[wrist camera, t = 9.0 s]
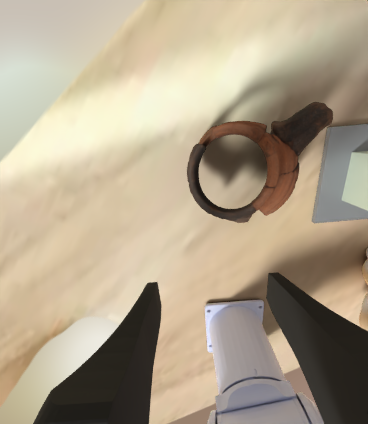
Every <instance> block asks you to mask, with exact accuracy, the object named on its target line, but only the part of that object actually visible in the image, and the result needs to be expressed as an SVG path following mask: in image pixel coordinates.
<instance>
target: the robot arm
mask: <svg viewBox="0 0 368 424" xmlns="http://www.w3.org/2000/svg"><path fill="white" fill-rule="evenodd" d="M266 298H267V301H268V303H269V306H270V308H271V311H272V313H273V315H274V317H275V319H276V321H277V323H278V324H279V326H280V328H281V330H282V332H283V334H284V335H285V337H286V339H287V341H288V343H289V345H290V346H291V348H292V350H293V352H294V354H295V356H296V358H297V360H298V362H299V365H300V367H301V369H302V371H303V374H304V376H305V378H306V380H307V383H308V385H309V388H310V390H311V392H312V395H313V397H314V400H315V402H316V405H317V407H318V409H317V407H316V406H315V404H314V403H313V401H312V400H311V399H309V398H308V397H306V396H305V395H304V394H303V393H302V392H299V393H296V395H295V393H294V390H293V388H292V386H291V383H290V381H288V380H287V381H286V379H285V377H284V374H283V372H282V370H281V367H280V365H279V363H278V360H277V358H276V356H275V353H274V351H273V349H272V346H271V344H270V342H269V340H268V337H267V335H266V333H265V330H264V328H263V326H262V324H263V311H264V302H263V300H248V301H235V302H222V303H209V304H206V305H205V319H206V334H207V349H208V352H213V357H214V364H215V371H216V378H217V385H218V391H219V395H218V396H216V397H215V399H216V407H217V410H212V411H211V413H210V417H209V419H208V421H207V424H368V331H367V330H365V329H363V328H361V327H359V326H357V325H355V324H354V323H352V322H350V321H348V320H346V319H345V318H343V317H341V316H340V315H338V314H336V313H335V312H333V311H331V310H330V309H328V308H327V307H325V306H324V305H322V304H321V303H319V302H318V301H316V300H315V299H313V298H312V297H310V296H309V295H308V294H306V293H305V292H303V291H302V290H301V289H299V288H298V287H297V286H295V285H294V284H293V283H291V282H290V281H289V280H288V279H286V278H285V277H284V276H282V275H281V274H280V273H278V272H277V273H269V274H268V286H267V297H266ZM160 321H161V301H160V295H159V289H158V283H157V282H153V283H147V285H146V286H145V288H144V290H143V292H142V293H141V295H140V297H139V298H138V300H137V301H136V303H135V304H134V306H133V307H132V309H131V310H130V312H129V313H128V315H127V316H126V317H125V319H124V320H123V321H122V323H121V324H120V325H119V327H118V328H117V329H116V330H115V331H114V333H113V334H112V335H111V336H110V337H109V338H108V339H107V341H106V342H105V343H104V344H103V345H102V346H101V347H100V348H99V349H98V350H97V351H96V352H95V353H94V354H93V355H92V356H91V357H90V358H89V359H88V360H87V361H86V362H85V363H84V364H82V365H81V367H79V368H78V369H77V370H76V371H75V372H74V373H72V374H71V375H70V376H69V377H68V378H66V379H65V380H64V381H63V382H61V383H60V384H59V385H58V386H56V387H55V388H54V389H53V390H52V391H51V392H50V394H49V395H48V397H47V399H46V400H45V402H44V404H43V406H42V407H41V409H40V411H39V413H38V415H37V417H36V419H35V421H34V423H33V424H149V412H150V398H151V386H152V374H153V365H154V358H155V352H156V346H157V340H158V334H159V328H160ZM318 410H319V411H318Z"/></svg>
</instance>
